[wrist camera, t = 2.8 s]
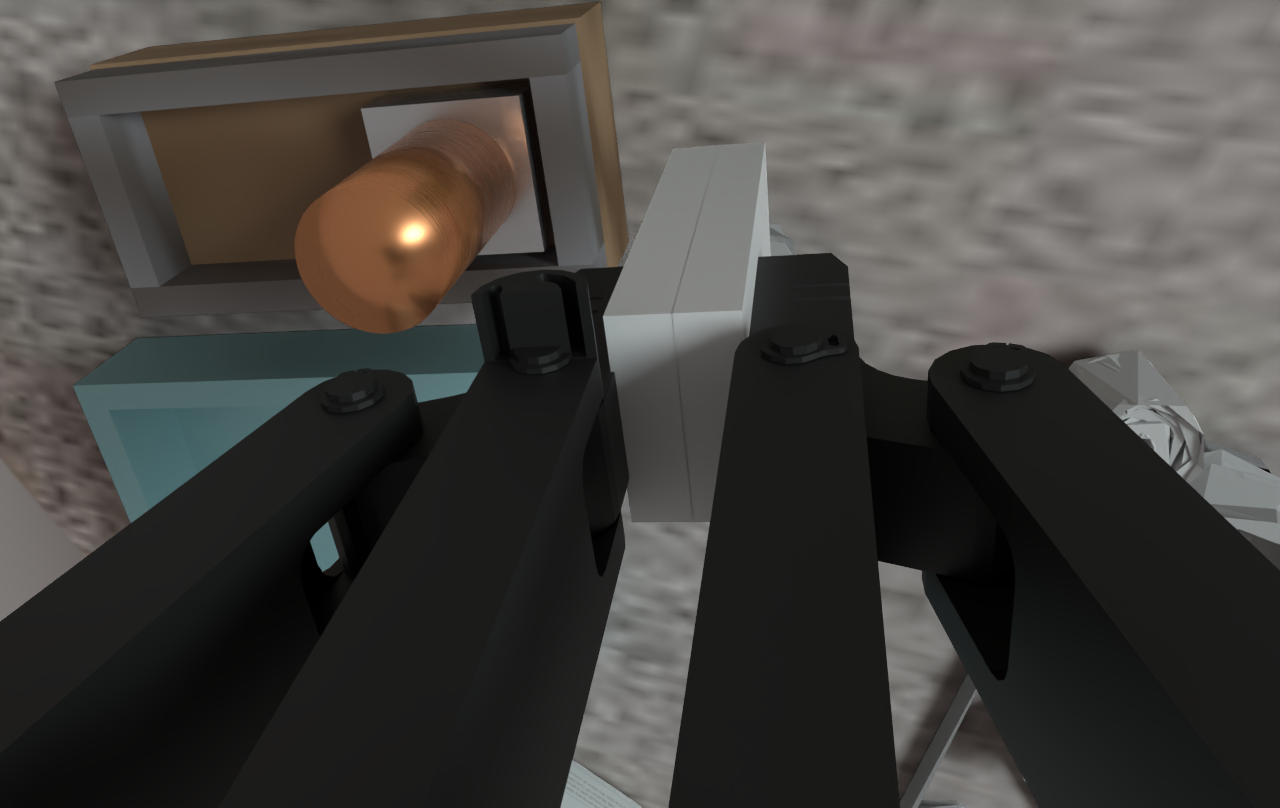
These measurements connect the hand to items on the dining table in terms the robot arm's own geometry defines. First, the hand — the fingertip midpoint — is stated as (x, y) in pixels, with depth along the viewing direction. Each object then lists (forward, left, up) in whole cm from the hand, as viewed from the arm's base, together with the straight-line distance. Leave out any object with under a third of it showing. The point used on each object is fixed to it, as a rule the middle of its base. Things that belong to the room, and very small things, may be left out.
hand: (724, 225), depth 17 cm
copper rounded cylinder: (0, +6, -6) cm, 9 cm away
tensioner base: (0, +9, -9) cm, 13 cm away
